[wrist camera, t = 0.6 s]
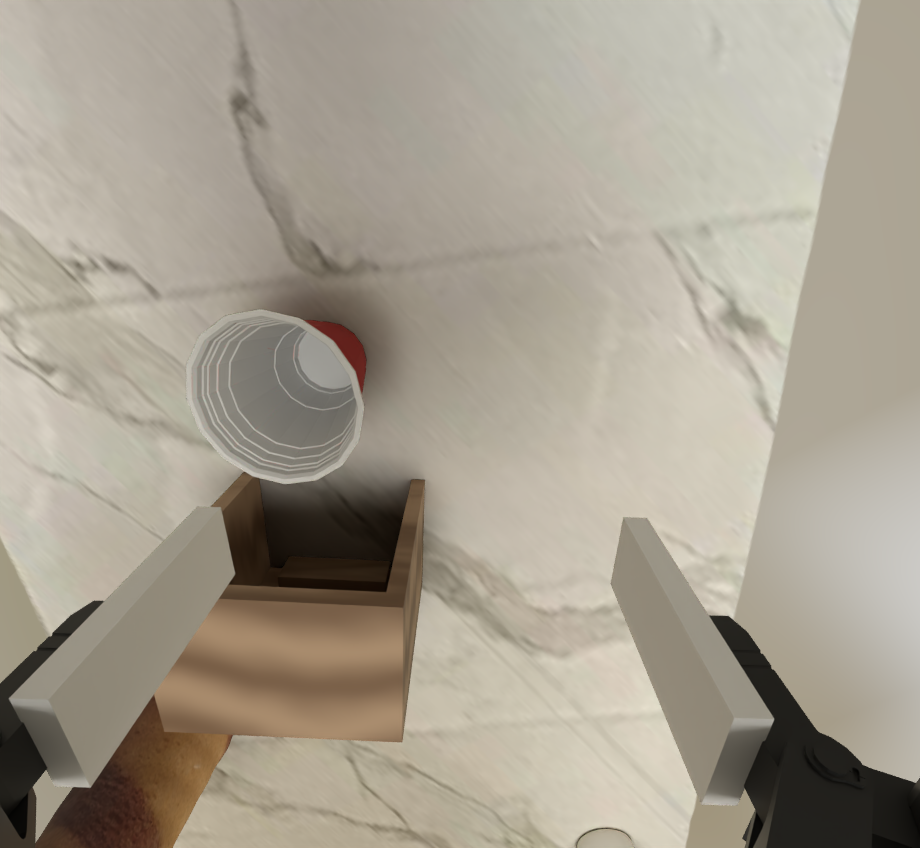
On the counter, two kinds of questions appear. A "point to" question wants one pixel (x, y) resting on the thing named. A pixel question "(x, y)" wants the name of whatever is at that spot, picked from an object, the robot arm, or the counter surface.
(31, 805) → the robot arm
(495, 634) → the counter surface
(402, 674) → the open wooden crate
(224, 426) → the plastic cup
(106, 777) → the wafer roll
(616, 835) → the milk bottle
